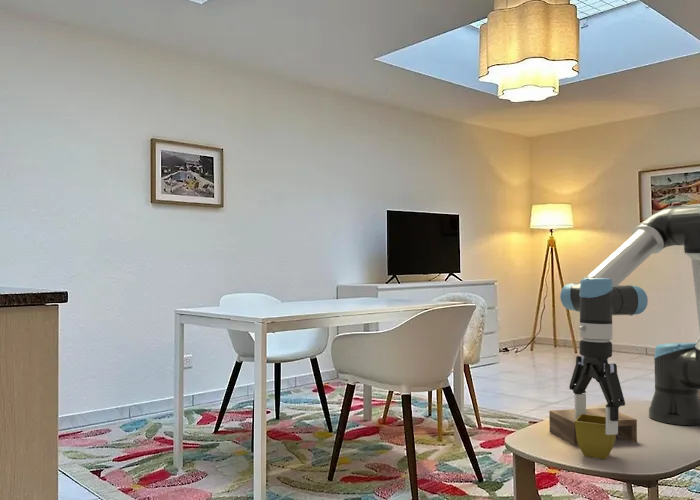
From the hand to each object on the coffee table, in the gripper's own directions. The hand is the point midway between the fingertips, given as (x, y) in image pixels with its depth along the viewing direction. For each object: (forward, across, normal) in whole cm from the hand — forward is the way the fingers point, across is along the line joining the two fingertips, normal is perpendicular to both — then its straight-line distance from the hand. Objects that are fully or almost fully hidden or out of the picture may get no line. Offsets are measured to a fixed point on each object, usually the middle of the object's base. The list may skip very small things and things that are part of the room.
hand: (595, 426), depth 152 cm
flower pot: (+7, 0, 0) cm, 7 cm away
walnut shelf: (+7, -15, +8) cm, 19 cm away
